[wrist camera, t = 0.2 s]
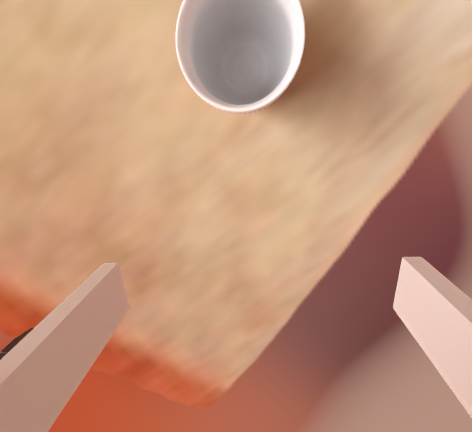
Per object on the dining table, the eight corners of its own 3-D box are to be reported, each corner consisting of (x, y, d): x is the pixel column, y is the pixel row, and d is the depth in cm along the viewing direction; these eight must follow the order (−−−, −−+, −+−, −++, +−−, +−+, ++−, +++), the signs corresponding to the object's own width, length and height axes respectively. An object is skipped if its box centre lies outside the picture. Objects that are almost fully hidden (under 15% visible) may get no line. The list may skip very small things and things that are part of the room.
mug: (257, -38, 29) (257, -150, 17) (328, 28, 31) (374, -31, 19) (188, 80, 34) (150, 59, 22) (253, 132, 36) (250, 138, 24)
